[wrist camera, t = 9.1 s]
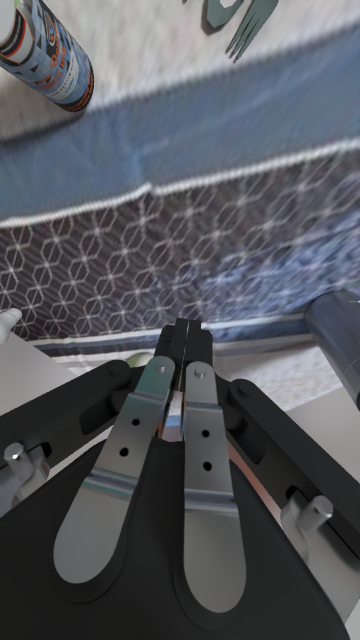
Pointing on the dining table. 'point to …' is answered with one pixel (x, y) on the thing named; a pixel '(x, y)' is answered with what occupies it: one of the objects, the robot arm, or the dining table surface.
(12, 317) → the lightbulb
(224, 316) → the dining table surface
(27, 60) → the beverage can
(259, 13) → the cutlery set
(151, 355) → the white ball
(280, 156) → the dining table surface
